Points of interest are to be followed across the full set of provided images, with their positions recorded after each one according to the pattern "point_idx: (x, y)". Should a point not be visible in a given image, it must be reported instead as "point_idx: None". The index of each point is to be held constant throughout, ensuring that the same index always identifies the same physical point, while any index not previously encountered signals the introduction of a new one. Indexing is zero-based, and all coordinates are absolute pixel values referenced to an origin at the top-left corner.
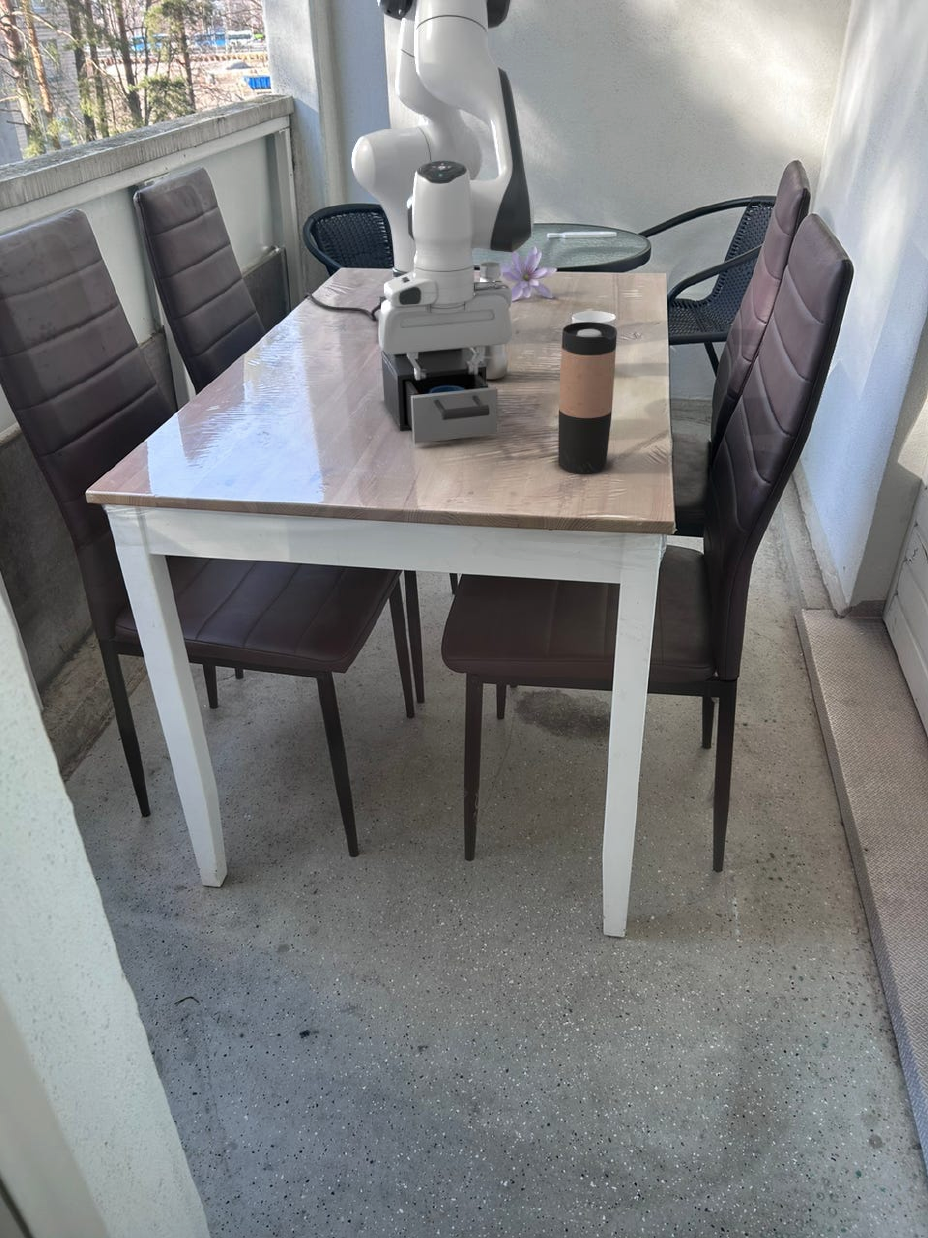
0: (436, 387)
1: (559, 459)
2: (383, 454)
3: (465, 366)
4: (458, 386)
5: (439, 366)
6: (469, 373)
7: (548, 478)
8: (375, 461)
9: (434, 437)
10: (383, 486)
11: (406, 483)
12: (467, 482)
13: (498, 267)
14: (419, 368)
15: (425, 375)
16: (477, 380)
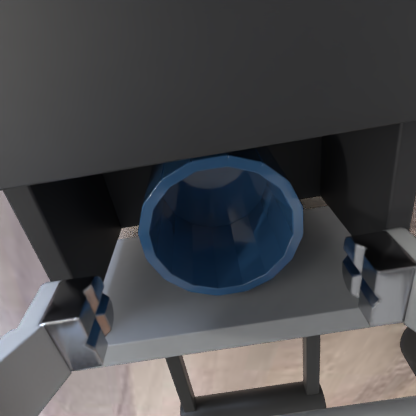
0: (172, 179)
1: (407, 352)
2: (40, 267)
3: (388, 77)
4: (281, 176)
5: (199, 45)
6: (349, 287)
7: (359, 370)
8: (30, 297)
9: None
10: (72, 380)
11: (112, 373)
12: (221, 375)
13: None
14: (62, 380)
15: (107, 333)
16: (388, 174)
